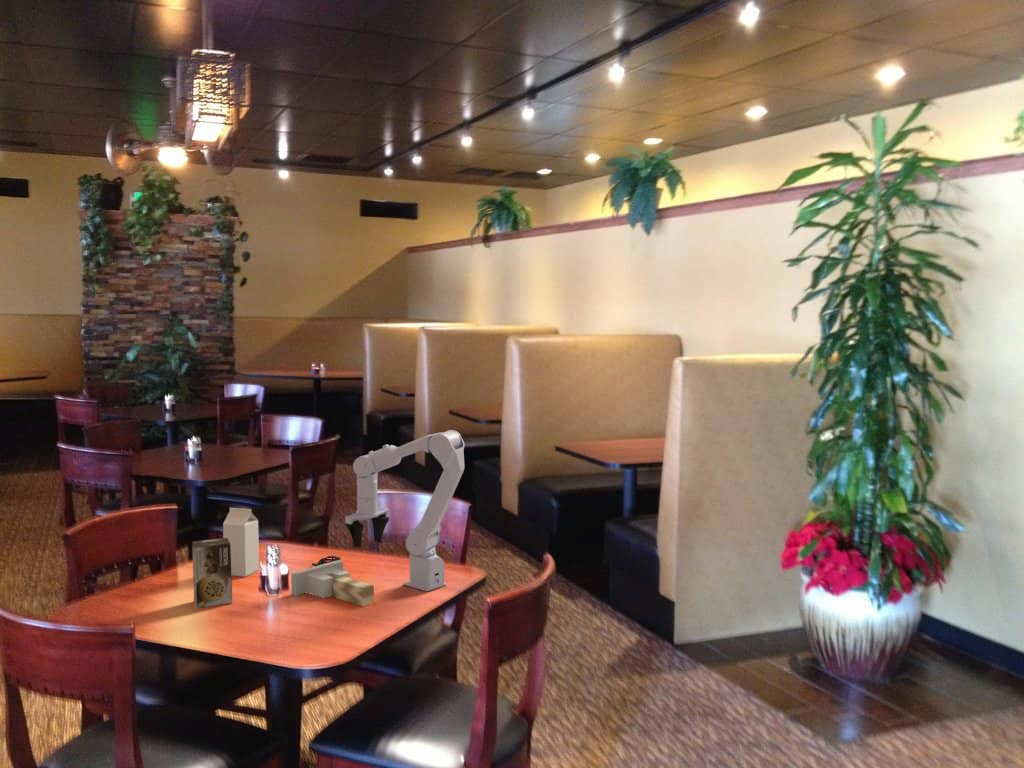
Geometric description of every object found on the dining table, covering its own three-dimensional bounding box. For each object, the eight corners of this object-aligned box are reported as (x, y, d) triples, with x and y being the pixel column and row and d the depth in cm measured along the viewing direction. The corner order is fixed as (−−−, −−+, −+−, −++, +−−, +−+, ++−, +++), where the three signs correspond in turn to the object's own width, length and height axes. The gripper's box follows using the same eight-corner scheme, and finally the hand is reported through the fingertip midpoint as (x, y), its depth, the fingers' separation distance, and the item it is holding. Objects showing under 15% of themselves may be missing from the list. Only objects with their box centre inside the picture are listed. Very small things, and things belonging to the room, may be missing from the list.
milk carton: (245, 577, 251) (244, 511, 249) (223, 575, 253) (222, 510, 251) (259, 570, 258) (258, 506, 256) (238, 568, 260) (236, 505, 258)
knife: (306, 585, 245) (306, 580, 245) (285, 583, 247) (285, 578, 247) (346, 560, 270) (346, 556, 270) (326, 559, 271) (326, 554, 271)
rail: (373, 603, 229) (373, 584, 229) (363, 607, 227) (363, 588, 226) (336, 591, 239) (336, 573, 238) (326, 595, 236) (326, 576, 236)
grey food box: (229, 596, 234) (228, 537, 233) (232, 603, 228) (231, 542, 227) (193, 601, 230) (191, 540, 229) (195, 608, 224) (194, 546, 223)
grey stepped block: (359, 587, 242) (359, 566, 242) (312, 601, 230) (312, 579, 229) (338, 580, 248) (338, 560, 247) (291, 594, 236) (291, 572, 235)
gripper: (377, 491, 257) (377, 537, 258) (338, 499, 246) (338, 546, 247) (393, 494, 252) (393, 541, 253) (354, 502, 241) (355, 551, 242)
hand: (367, 544), depth 250 cm, fingers open, 7 cm apart
